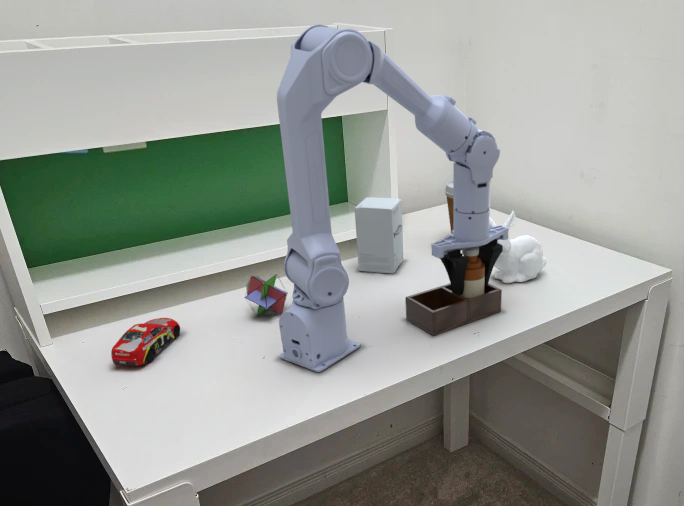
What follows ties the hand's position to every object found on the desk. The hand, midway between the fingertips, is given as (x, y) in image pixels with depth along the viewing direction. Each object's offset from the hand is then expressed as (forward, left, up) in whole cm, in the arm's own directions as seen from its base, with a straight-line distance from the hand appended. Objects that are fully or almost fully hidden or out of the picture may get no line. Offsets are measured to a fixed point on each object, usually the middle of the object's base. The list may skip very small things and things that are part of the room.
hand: (470, 288), depth 110 cm
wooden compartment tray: (-3, +1, -4) cm, 5 cm away
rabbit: (+17, +1, -4) cm, 17 cm away
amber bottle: (0, 0, -3) cm, 3 cm away
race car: (-38, +34, -4) cm, 51 cm away
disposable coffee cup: (+30, +19, -4) cm, 36 cm away
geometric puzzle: (-19, +28, -4) cm, 34 cm away
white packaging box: (+8, +25, -4) cm, 27 cm away
